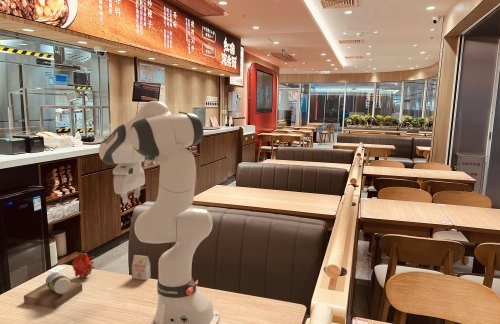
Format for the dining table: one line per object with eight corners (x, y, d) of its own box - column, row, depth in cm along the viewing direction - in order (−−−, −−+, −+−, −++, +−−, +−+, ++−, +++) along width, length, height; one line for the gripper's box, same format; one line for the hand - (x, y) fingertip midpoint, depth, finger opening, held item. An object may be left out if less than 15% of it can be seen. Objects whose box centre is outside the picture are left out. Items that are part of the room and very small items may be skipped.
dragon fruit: (86, 282, 153) (85, 255, 151) (67, 281, 154) (66, 253, 152) (98, 274, 161) (96, 247, 160) (80, 272, 162) (78, 246, 161)
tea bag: (136, 275, 161) (136, 253, 160) (150, 277, 160) (150, 255, 158) (132, 278, 158) (131, 256, 156) (146, 280, 156) (145, 258, 155)
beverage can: (56, 278, 133) (46, 268, 141) (51, 298, 132) (41, 287, 141) (74, 277, 137) (63, 267, 146) (69, 297, 137) (58, 286, 145)
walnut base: (82, 292, 146) (82, 283, 146) (55, 310, 133) (55, 301, 133) (53, 287, 150) (52, 279, 149) (24, 304, 136) (23, 295, 136)
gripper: (135, 163, 164) (135, 194, 165) (110, 171, 144) (111, 205, 146) (148, 164, 163) (148, 194, 164) (125, 171, 143) (126, 206, 144)
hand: (131, 199), depth 155 cm, fingers open, 8 cm apart
